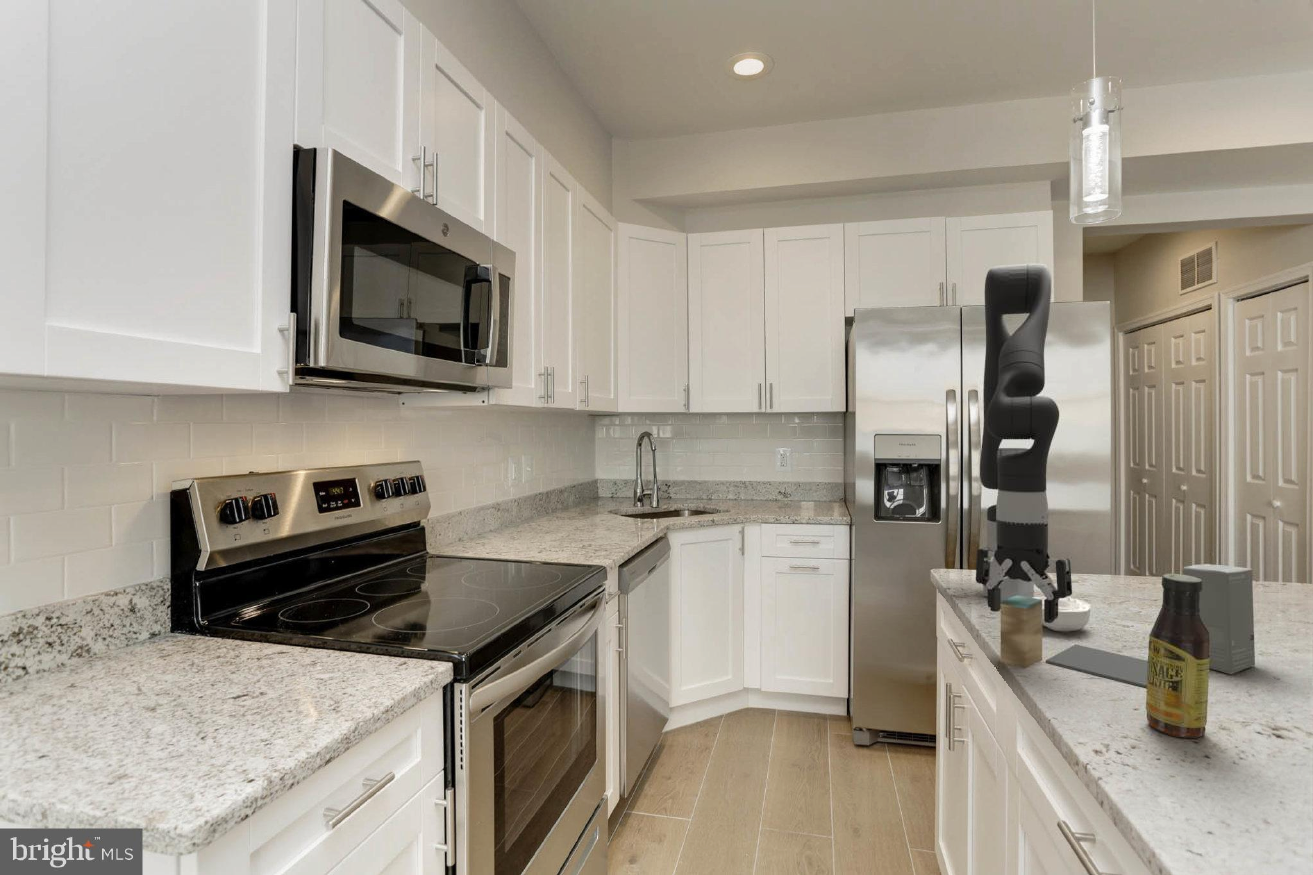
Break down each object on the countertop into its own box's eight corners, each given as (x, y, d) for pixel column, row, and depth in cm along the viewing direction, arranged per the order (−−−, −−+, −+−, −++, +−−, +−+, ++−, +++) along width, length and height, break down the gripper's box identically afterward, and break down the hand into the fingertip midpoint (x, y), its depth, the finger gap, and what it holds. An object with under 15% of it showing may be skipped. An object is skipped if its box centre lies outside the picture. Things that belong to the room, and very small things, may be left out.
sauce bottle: (1134, 720, 91) (1134, 571, 90) (1178, 717, 91) (1179, 569, 91) (1175, 743, 84) (1176, 582, 84) (1222, 740, 85) (1224, 581, 84)
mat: (1045, 662, 112) (1045, 660, 112) (1075, 646, 120) (1075, 644, 120) (1163, 692, 100) (1163, 689, 100) (1188, 672, 107) (1188, 669, 107)
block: (1000, 661, 113) (1000, 601, 113) (1017, 653, 117) (1017, 595, 117) (1025, 668, 110) (1025, 606, 110) (1042, 659, 114) (1042, 599, 114)
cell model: (1097, 626, 131) (1098, 591, 131) (1083, 642, 122) (1083, 604, 122) (1038, 616, 138) (1038, 583, 138) (1021, 630, 129) (1021, 595, 129)
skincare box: (1231, 676, 106) (1232, 573, 105) (1179, 661, 112) (1179, 565, 112) (1258, 666, 110) (1259, 567, 109) (1205, 653, 116) (1206, 559, 116)
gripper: (968, 515, 116) (968, 611, 116) (1059, 524, 105) (1059, 630, 105) (989, 512, 121) (989, 604, 121) (1078, 520, 110) (1078, 621, 110)
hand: (1021, 616), depth 113 cm, fingers open, 8 cm apart
